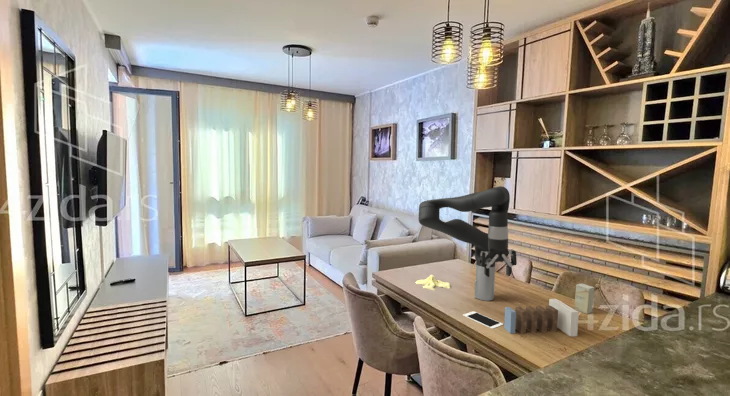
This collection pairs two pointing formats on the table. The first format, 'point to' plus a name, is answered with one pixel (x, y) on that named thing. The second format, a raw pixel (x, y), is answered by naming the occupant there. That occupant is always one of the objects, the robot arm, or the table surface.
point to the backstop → (566, 317)
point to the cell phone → (483, 319)
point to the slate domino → (510, 320)
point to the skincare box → (584, 298)
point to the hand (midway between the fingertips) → (497, 275)
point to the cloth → (433, 283)
